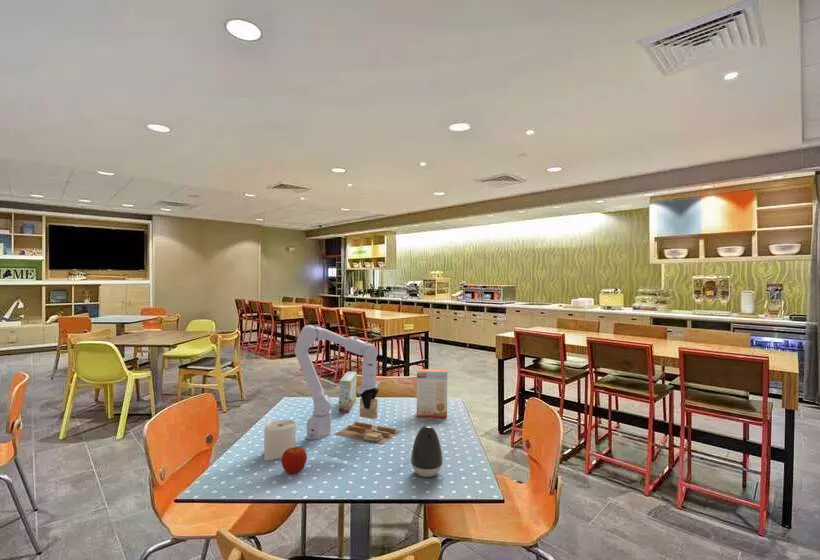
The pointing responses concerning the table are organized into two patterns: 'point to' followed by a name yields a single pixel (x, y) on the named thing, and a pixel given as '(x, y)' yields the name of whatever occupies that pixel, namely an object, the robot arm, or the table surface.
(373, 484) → the table surface
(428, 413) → the cracker box
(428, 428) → the dark grey egg shape
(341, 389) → the snack box
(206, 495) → the table surface
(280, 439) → the toilet tissue
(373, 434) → the oak offcut
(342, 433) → the rack
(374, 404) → the birch board
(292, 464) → the apple
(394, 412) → the table surface
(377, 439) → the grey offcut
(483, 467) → the table surface
